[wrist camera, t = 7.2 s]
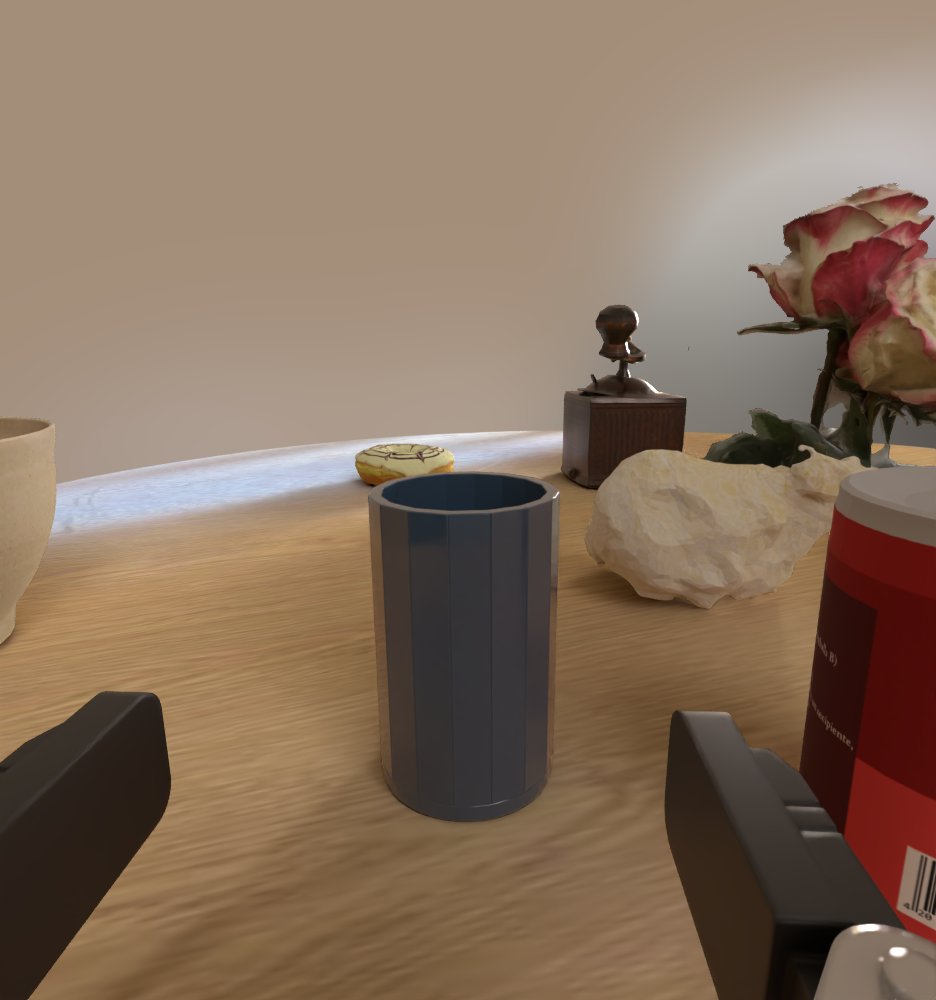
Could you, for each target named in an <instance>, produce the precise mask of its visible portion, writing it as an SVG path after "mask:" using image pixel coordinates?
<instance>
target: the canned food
mask: <svg viewBox="0 0 936 1000" xmlns="http://www.w3.org/2000/svg"><path fill="white" fill-rule="evenodd" d="M799 773H800V774H801V775H802V777H803V778H804V780H805V781H806V783H807V784H808V786H809V787H810V789H811V790H812V792H813V793H814V794H815V796H816V797H817V799H818V800H819V803H820V807H821V808H824V809H825V811H826V812H827V814H828V815H829V816H830V818H831V819H832V821H833V822H834V824H835V825H836V830H837V833H841V834H842V835H843V837H844V838H845V840H846V841H847V843H848V844H849V846H850V847H851V849H852V850H853V852H854V853H855V855H856V856H857V857H858V859H859V860H860V862H861V863H862V865H863V866H864V868H865V869H866V871H867V872H868V874H869V875H870V877H871V878H872V879H873V881H874V882H875V884H876V885H877V887H878V888H879V890H880V891H881V893H882V894H883V896H884V897H885V899H886V900H887V901H888V903H889V904H890V906H891V907H892V909H893V910H894V912H895V913H896V915H897V916H898V918H899V919H900V920H901V922H902V923H903V925H904V926H905V928H906V929H907V931H909V932H912V933H914V934H916V935H919V936H921V937H923V938H926V939H928V940H930V941H931V942H933V943H935V944H936V466H910V467H891V468H881V469H873V470H868V471H862V472H859V473H855V474H853V475H850V476H847V477H845V478H844V479H843V480H842V481H841V482H840V486H839V494H838V496H837V498H836V500H835V503H834V510H833V517H832V525H831V532H830V537H829V541H828V548H827V556H826V564H825V572H824V580H823V588H822V596H821V603H820V611H819V619H818V627H817V635H816V643H815V651H814V659H813V667H812V675H811V683H810V691H809V699H808V707H807V715H806V722H805V730H804V738H803V746H802V754H801V762H800V770H799Z"/></svg>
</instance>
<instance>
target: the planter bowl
mask: <svg viewBox="0 0 936 1000" xmlns="http://www.w3.org/2000/svg"><path fill="white" fill-rule="evenodd" d="M55 440H56V433H55V425H54V424H53V422H51V421H49V420H44V419H36V418H21V417H2V416H1V417H0V644H1V643H3V642H4V641H5V640H6V639H7V638H8V637H9V636H10V635H11V633H12V631H13V629H14V627H15V606H16V604H17V602H18V601H19V599H20V598H21V596H22V595H23V593H24V592H25V590H26V588H27V587H28V585H29V583H30V582H31V580H32V578H33V576H34V575H35V572H36V570H37V568H38V566H39V564H40V562H41V559H42V557H43V554H44V552H45V549H46V546H47V543H48V539H49V536H50V532H51V528H52V524H53V519H54V513H55V504H56V474H55V473H56V472H55V465H54V457H53V451H54V446H55Z"/></svg>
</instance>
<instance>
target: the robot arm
mask: <svg viewBox="0 0 936 1000" xmlns="http://www.w3.org/2000/svg"><path fill="white" fill-rule="evenodd" d="M170 789H171V774H170V767H169V759H168V752H167V744H166V737H165V729H164V722H163V714H162V707H161V703H160V700H159V699H158V697H157V696H156V695H155V694H153V693H147V692H114V691H105V692H101V693H99V694H98V695H96V696H95V697H94V698H93V699H91V700H90V701H89V702H88V703H87V704H85V705H84V706H83V707H82V708H81V709H79V710H78V711H77V712H76V713H75V714H73V715H72V716H71V717H70V718H69V719H68V720H66V721H65V722H64V723H62V724H60V725H58V726H56V727H54V728H52V729H50V730H48V731H46V732H44V733H43V734H41V735H39V736H37V737H35V738H33V739H31V740H29V741H27V742H25V743H24V744H23V745H22V746H20V747H19V748H18V749H17V750H15V751H14V752H13V753H12V754H10V755H9V756H8V757H7V758H6V759H4V760H3V761H2V762H1V763H0V1000H28V998H29V997H30V996H31V994H32V993H33V992H34V990H35V989H36V988H37V986H38V985H39V984H40V982H41V981H42V980H43V978H44V977H45V976H46V974H47V973H48V971H49V970H50V969H51V967H52V966H53V965H54V963H55V962H56V961H57V959H58V958H59V957H60V955H61V954H62V953H63V951H64V950H65V949H66V947H67V946H68V944H69V943H70V942H71V940H72V939H73V938H74V936H75V935H76V934H77V932H78V931H79V930H80V928H81V927H82V926H83V924H84V923H85V922H86V920H87V919H88V917H89V916H90V915H91V913H92V912H93V911H94V909H95V908H96V907H97V905H98V904H99V903H100V901H101V900H102V899H103V897H104V896H105V895H106V893H107V892H108V890H109V889H110V888H111V886H112V885H113V884H114V882H115V881H116V880H117V878H118V877H119V876H120V874H121V873H122V872H123V870H124V869H125V868H126V866H127V865H128V863H129V862H130V861H131V859H132V858H133V857H134V855H135V854H136V853H137V851H138V850H139V849H140V847H141V846H142V845H143V843H144V842H145V841H146V839H147V838H148V836H149V835H150V834H151V832H152V831H153V830H154V828H155V827H156V826H157V824H158V823H159V821H160V820H161V818H162V816H163V814H164V812H165V809H166V806H167V804H168V800H169V796H170ZM665 822H666V830H667V836H668V841H669V845H670V849H671V852H672V855H673V858H674V861H675V864H676V867H677V871H678V874H679V877H680V880H681V883H682V886H683V889H684V892H685V895H686V899H687V902H688V905H689V908H690V911H691V914H692V917H693V920H694V924H695V927H696V930H697V933H698V936H699V939H700V942H701V945H702V948H703V952H704V955H705V958H706V961H707V964H708V967H709V970H710V973H711V977H712V980H713V983H714V986H715V989H716V992H717V995H718V998H719V1000H936V944H935V943H933V942H931V941H930V940H928V939H926V938H923V937H921V936H919V935H916V934H914V933H912V932H909V931H907V929H906V928H905V926H904V925H903V923H902V922H901V920H900V919H899V918H898V916H897V915H896V913H895V912H894V910H893V909H892V907H891V906H890V904H889V903H888V901H887V900H886V899H885V897H884V896H883V894H882V893H881V891H880V890H879V888H878V887H877V885H876V884H875V882H874V881H873V879H872V878H871V877H870V875H869V874H868V872H867V871H866V869H865V868H864V866H863V865H862V863H861V862H860V860H859V859H858V857H857V856H856V855H855V853H854V852H853V850H852V849H851V847H850V846H849V844H848V843H847V841H846V840H845V838H844V837H843V835H842V834H841V833H837V830H836V825H835V824H834V822H833V821H832V819H831V818H830V816H829V815H828V814H827V812H826V811H825V809H824V808H821V807H820V803H819V800H818V799H817V797H816V796H815V794H814V793H813V792H812V790H811V789H810V787H809V786H808V784H807V783H806V781H805V780H804V778H803V777H802V775H801V774H800V773H799V772H798V771H797V770H795V769H794V768H793V767H791V766H790V765H789V764H788V763H786V762H785V761H784V760H782V759H781V758H780V757H779V756H777V755H776V754H775V753H773V752H772V751H771V750H770V749H759V748H750V747H749V745H748V744H747V742H746V740H745V739H744V737H743V735H742V734H741V732H740V730H739V729H738V727H737V725H736V724H735V722H734V720H733V719H732V717H731V716H730V714H728V713H727V712H713V711H681V710H676V711H675V712H674V713H673V715H672V719H671V726H670V738H669V751H668V763H667V776H666V788H665Z"/></svg>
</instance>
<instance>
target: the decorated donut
mask: <svg viewBox="0 0 936 1000" xmlns="http://www.w3.org/2000/svg"><path fill="white" fill-rule="evenodd" d="M355 458H356V462H355V466H356V469H357V471H358V473H359V475H360V477H361V478H362V479H363V480H364V481H365V483H367V484H374V485H375V486H378V485H380V484H382V483H385V482H387V481H390V480H394V479H399V478H403V477H408V476H414V475H421V474H431V473H441V472H443V473H444V472H453V463H454V456H453V454H452V453H450V452H449V451H447V450H445V449H442V448H439V447H433V446H428V445H419V444H386V445H377V446H374V447H371V448H369V449H367V450H363V451H361V452H360V453H358V454H356V455H355Z"/></svg>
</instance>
